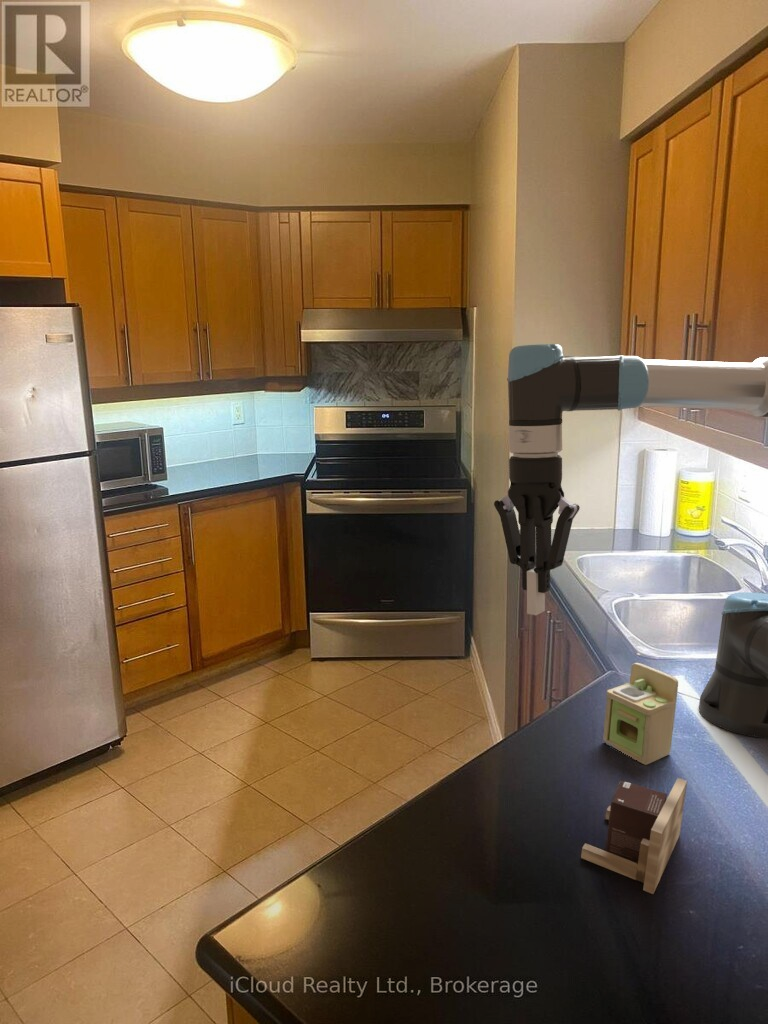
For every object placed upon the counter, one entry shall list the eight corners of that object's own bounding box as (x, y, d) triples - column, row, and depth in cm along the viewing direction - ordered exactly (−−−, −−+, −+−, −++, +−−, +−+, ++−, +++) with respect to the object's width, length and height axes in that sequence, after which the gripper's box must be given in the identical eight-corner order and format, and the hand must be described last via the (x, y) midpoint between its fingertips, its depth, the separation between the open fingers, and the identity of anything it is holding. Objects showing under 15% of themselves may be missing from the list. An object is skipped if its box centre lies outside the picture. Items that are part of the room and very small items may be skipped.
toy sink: (598, 743, 123) (607, 669, 121) (626, 732, 127) (635, 660, 125) (643, 767, 116) (653, 689, 114) (670, 754, 121) (681, 679, 118)
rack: (610, 810, 104) (617, 758, 103) (679, 835, 100) (687, 780, 98) (577, 863, 93) (584, 805, 91) (653, 894, 88) (661, 833, 86)
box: (653, 870, 92) (660, 817, 91) (603, 853, 95) (610, 801, 94) (661, 844, 98) (668, 793, 96) (614, 828, 101) (620, 779, 99)
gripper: (482, 455, 109) (485, 611, 113) (564, 458, 100) (564, 626, 104) (509, 450, 114) (511, 599, 118) (589, 453, 106) (588, 613, 110)
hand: (536, 612), depth 111 cm, fingers closed
